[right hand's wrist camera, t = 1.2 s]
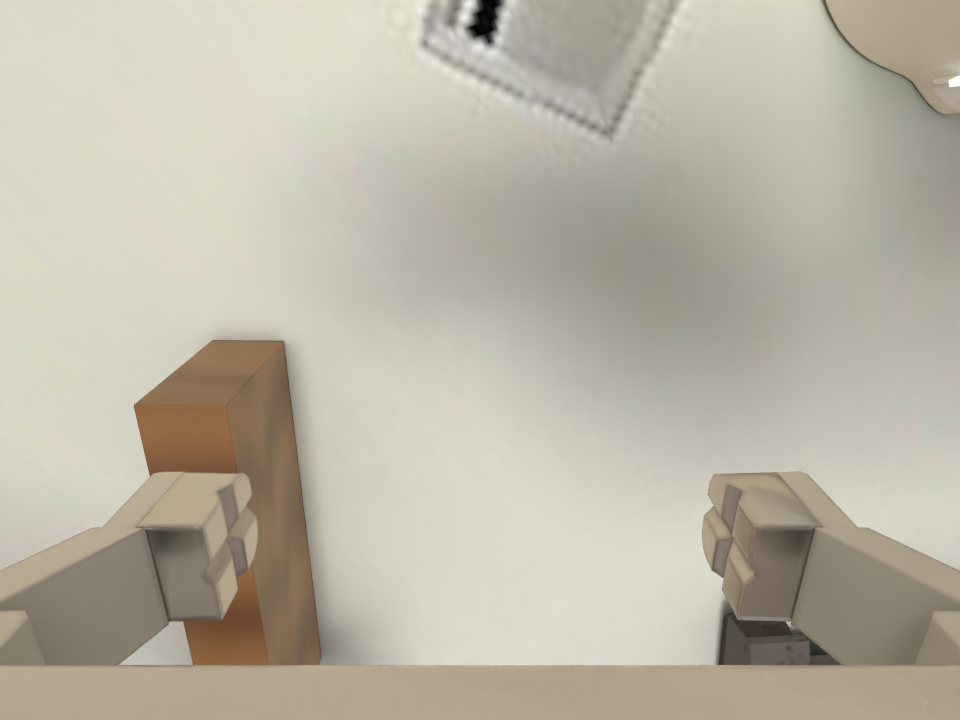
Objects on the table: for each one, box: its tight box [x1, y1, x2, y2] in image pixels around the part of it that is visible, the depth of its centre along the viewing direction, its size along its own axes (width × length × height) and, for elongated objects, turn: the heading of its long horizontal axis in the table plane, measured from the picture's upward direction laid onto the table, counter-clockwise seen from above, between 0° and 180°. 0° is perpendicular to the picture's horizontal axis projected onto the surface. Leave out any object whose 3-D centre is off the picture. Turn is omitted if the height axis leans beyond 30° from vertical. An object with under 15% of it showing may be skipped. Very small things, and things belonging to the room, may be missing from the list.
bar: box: [134, 341, 321, 665], centre depth 39 cm, size 28×5×9 cm, turn 179°
